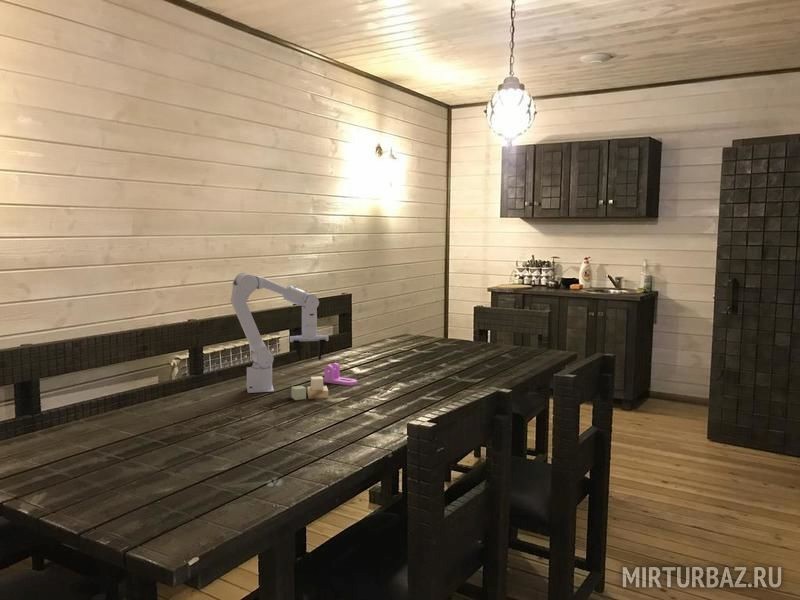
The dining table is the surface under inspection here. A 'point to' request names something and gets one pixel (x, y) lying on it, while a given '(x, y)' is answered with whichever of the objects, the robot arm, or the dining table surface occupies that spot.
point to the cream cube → (317, 383)
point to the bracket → (336, 376)
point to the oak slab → (317, 393)
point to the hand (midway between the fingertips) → (309, 359)
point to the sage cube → (298, 392)
